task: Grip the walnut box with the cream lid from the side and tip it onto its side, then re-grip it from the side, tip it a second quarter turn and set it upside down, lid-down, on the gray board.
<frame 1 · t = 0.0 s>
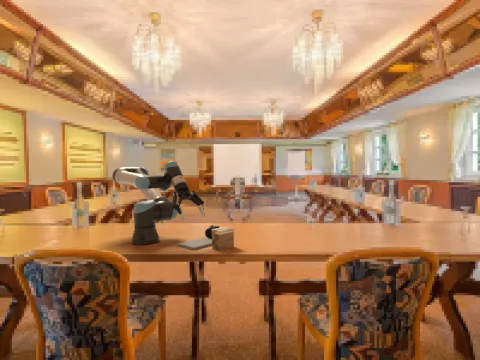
hand: (194, 217, 157), 15 cm above the table, tool tilted 35°, fingers open, 13 cm apart
walnut box: (223, 247, 152), on the table
end cap: (212, 238, 176), on the table
gray board: (199, 244, 159), on the table
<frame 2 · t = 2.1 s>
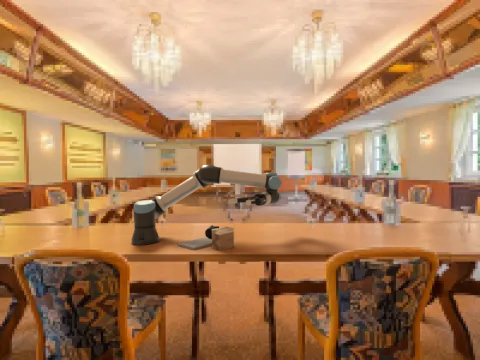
hand: (237, 202, 159), 23 cm above the table, tool horizontal, fingers open, 13 cm apart
nothing on the table moved.
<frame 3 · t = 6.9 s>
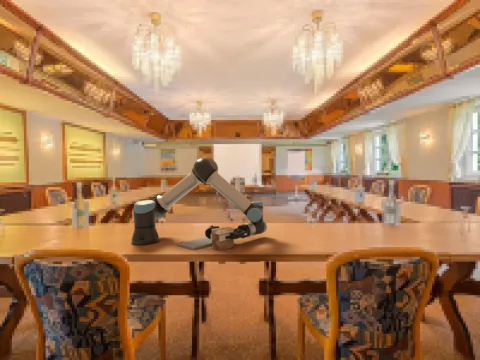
hand: (215, 237, 148), 6 cm above the table, tool horizontal, fingers closed on walnut box, 6 cm apart
walnut box: (223, 247, 152), on the table, touching gripper
everything else where it was.
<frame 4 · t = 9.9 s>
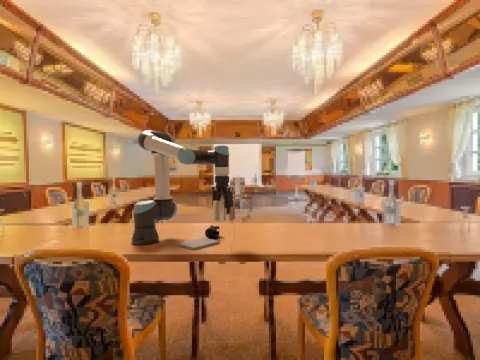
hand: (222, 219, 152), 15 cm above the table, tool pointing down, fingers closed on walnut box, 6 cm apart
walnut box: (230, 209, 156), point 20 cm above the table, tilted 90°, touching gripper
everything else where it was.
when the fingers open (1 cm above the table, at t = 12.4 s): walnut box stays where it is, point 5 cm above the table.
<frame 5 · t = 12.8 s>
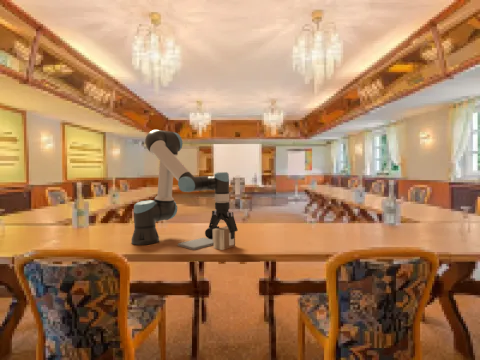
hand: (223, 243, 152), 2 cm above the table, tool pointing down, fingers open, 12 cm apart
walnut box: (231, 236, 156), point 5 cm above the table, tilted 90°
everything else where it was.
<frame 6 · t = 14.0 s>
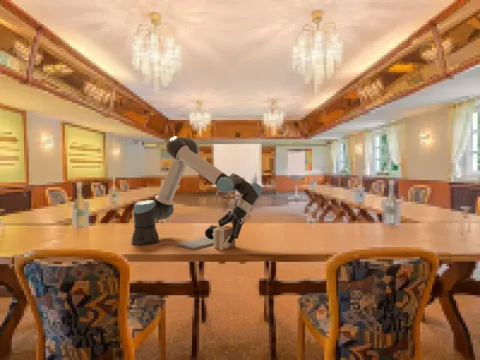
hand: (218, 241, 153), 3 cm above the table, tool tilted 35°, fingers open, 13 cm apart
walnut box: (231, 236, 156), point 5 cm above the table, tilted 90°, touching gripper
everything else where it was.
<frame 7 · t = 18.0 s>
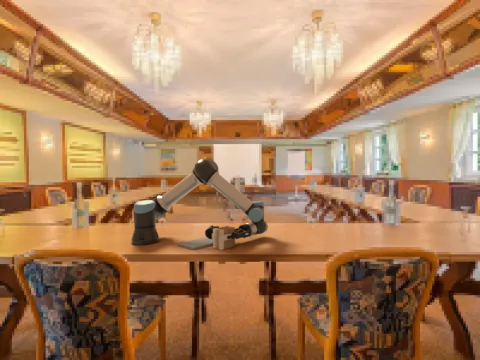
hand: (217, 237, 149), 6 cm above the table, tool horizontal, fingers open, 6 cm apart
nothing on the table moved.
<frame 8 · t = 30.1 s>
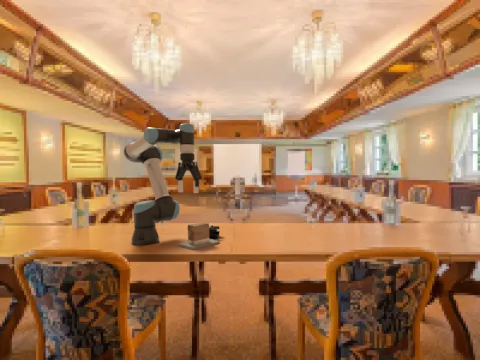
hand: (188, 192, 156), 29 cm above the table, tool pointing down, fingers open, 13 cm apart
walnut box: (198, 224, 159), point 11 cm above the table, tilted 180°, touching gray board
everything else where it was.
at the end: walnut box tilted 180°; walnut box inside the target area on the gray board (0.1 cm from its centre), point 11.2 cm above the gray board's base; walnut box touching gray board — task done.
